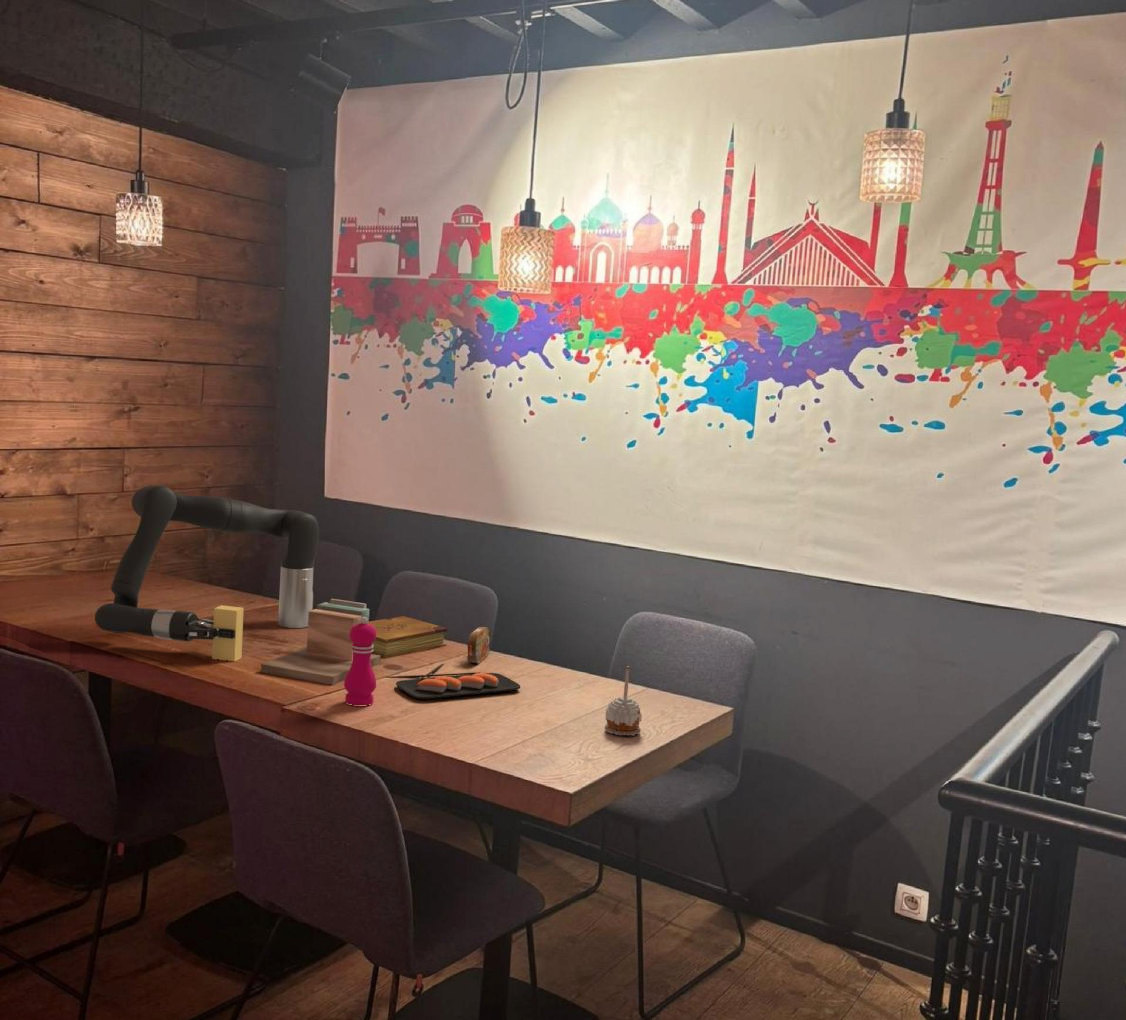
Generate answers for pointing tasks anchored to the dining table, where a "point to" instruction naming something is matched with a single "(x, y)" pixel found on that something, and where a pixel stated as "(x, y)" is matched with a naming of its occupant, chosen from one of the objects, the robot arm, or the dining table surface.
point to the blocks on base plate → (324, 645)
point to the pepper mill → (361, 665)
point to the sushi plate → (454, 684)
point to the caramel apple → (623, 714)
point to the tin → (479, 645)
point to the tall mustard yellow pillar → (228, 620)
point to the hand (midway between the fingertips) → (238, 632)
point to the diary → (405, 636)
